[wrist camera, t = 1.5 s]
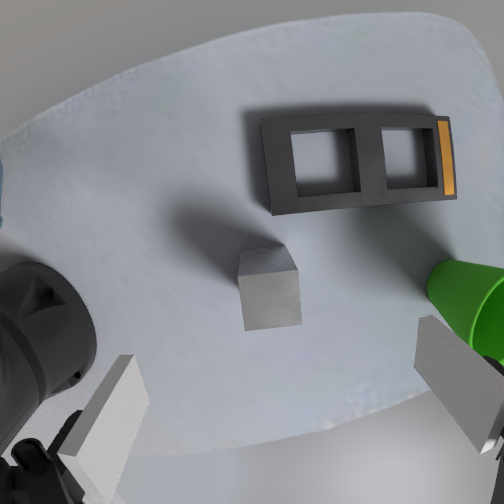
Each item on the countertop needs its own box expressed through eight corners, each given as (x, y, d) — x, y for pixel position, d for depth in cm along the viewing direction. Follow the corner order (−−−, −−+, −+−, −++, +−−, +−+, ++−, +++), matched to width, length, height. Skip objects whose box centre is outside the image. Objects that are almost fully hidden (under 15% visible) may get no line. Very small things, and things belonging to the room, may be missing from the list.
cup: (394, 283, 30) (452, 330, 19) (453, 223, 29) (525, 244, 18) (433, 336, 32) (485, 388, 21) (485, 281, 30) (547, 315, 20)
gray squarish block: (246, 292, 30) (244, 330, 22) (240, 250, 29) (237, 276, 22) (289, 287, 30) (302, 324, 22) (285, 245, 29) (297, 269, 21)
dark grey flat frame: (270, 213, 29) (272, 215, 27) (260, 123, 27) (260, 119, 25) (446, 197, 28) (457, 199, 26) (438, 119, 26) (449, 116, 24)
